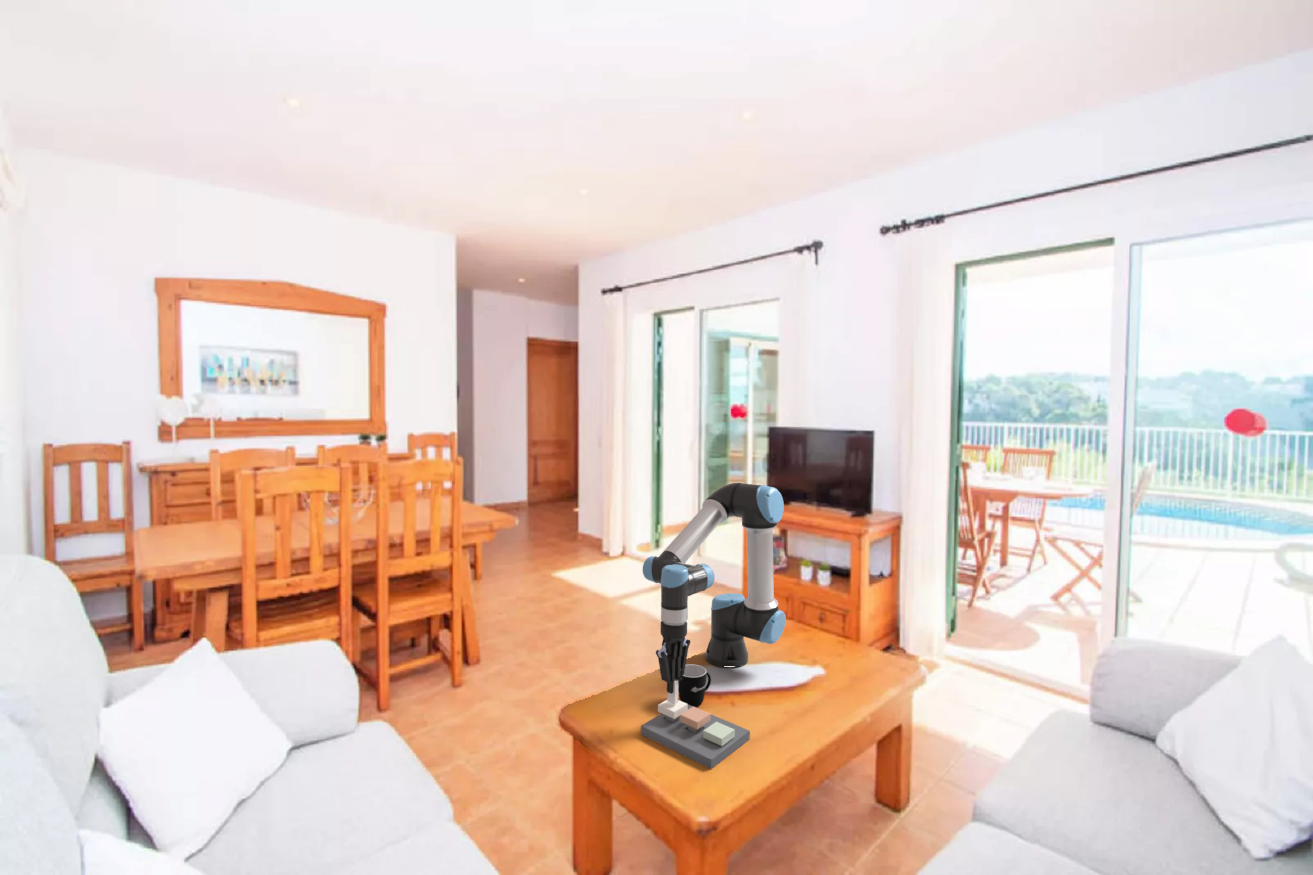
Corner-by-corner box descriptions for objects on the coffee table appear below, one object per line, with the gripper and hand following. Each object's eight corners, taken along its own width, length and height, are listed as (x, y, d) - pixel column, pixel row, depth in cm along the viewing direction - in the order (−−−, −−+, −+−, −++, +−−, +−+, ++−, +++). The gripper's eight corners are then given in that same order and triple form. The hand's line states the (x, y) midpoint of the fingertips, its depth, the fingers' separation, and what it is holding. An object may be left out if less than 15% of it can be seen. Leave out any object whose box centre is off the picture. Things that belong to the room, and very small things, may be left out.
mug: (689, 713, 182) (689, 679, 181) (671, 700, 189) (671, 668, 188) (719, 701, 189) (720, 669, 188) (700, 690, 196) (701, 659, 195)
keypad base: (681, 709, 183) (681, 701, 183) (749, 739, 168) (749, 730, 168) (640, 734, 170) (641, 725, 170) (711, 769, 154) (711, 759, 154)
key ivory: (671, 712, 178) (671, 697, 178) (687, 719, 174) (687, 704, 174) (657, 720, 174) (657, 704, 173) (674, 727, 170) (674, 712, 169)
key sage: (716, 737, 168) (716, 721, 167) (734, 745, 164) (734, 729, 164) (703, 746, 163) (703, 730, 163) (721, 755, 159) (722, 738, 159)
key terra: (693, 721, 173) (693, 706, 173) (710, 729, 169) (710, 713, 169) (679, 730, 168) (680, 714, 168) (697, 738, 164) (697, 722, 164)
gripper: (678, 611, 179) (676, 690, 181) (648, 623, 169) (647, 706, 171) (698, 618, 174) (697, 698, 176) (669, 630, 165) (668, 715, 166)
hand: (672, 702), depth 173 cm, fingers closed
